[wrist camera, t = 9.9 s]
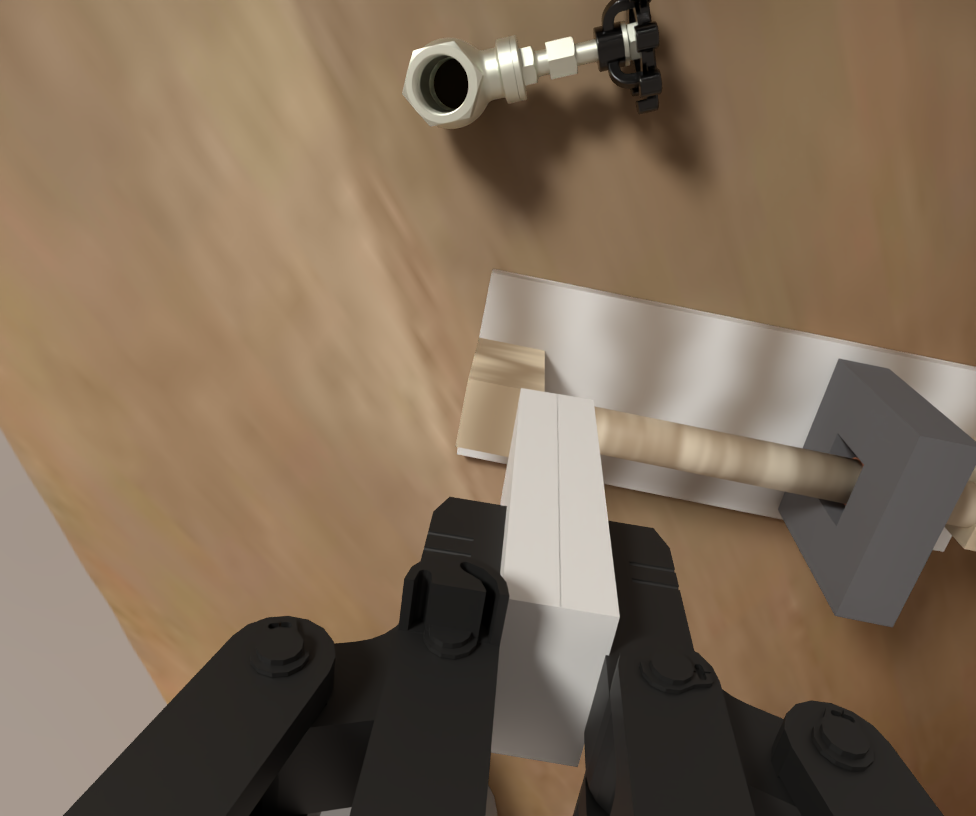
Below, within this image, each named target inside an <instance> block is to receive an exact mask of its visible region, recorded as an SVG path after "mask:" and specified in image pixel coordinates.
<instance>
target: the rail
mask: <svg viewBox="0 0 976 816" xmlns="http://www.w3.org/2000/svg"><path fill="white" fill-rule="evenodd" d="M838 359H844V360H849V361H854V362H859V363H864V364H869V365H874V366H879V367H884V368H889V369H890V370H891V371H893V372H894V373H895V374H896V375H897V376H899V377H900V378H901V379H902V380H903V381H905V382H906V383H907V384H908V385H909V386H910V387H912V388H913V389H914V390H915V391H916V392H918V393H919V394H920V395H921V396H922V397H924V398H925V399H926V400H927V401H928V402H930V403H931V404H932V405H933V406H934V407H936V408H937V409H938V410H939V411H940V412H941V413H943V414H944V415H945V416H946V417H947V418H949V419H950V420H951V421H952V422H953V423H955V424H956V425H957V426H958V427H959V428H961V429H962V430H963V431H964V432H965V433H966V434H968V435H969V436H970V437H971V438H972V439H974V440H975V441H976V367H974V366H969V365H964V364H959V363H954V362H949V361H944V360H939V359H934V358H929V357H925V356H920V355H915V354H910V353H905V352H900V351H895V350H890V349H885V348H880V347H875V346H870V345H866V344H861V343H856V342H851V341H846V340H841V339H836V338H831V337H826V336H821V335H816V334H811V333H807V332H802V331H797V330H792V329H787V328H782V327H777V326H772V325H767V324H762V323H757V322H752V321H748V320H743V319H738V318H733V317H728V316H723V315H718V314H713V313H708V312H703V311H698V310H693V309H689V308H684V307H679V306H674V305H669V304H664V303H659V302H654V301H649V300H644V299H639V298H634V297H630V296H625V295H620V294H615V293H610V292H605V291H600V290H595V289H590V288H585V287H580V286H575V285H571V284H566V283H561V282H556V281H551V280H546V279H541V278H536V277H531V276H526V275H521V274H516V273H512V272H507V271H502V270H497V269H493V270H492V274H491V279H490V284H489V289H488V295H487V300H486V305H485V310H484V315H483V321H482V326H481V331H480V336H479V340H478V344H477V348H476V352H475V355H474V359H473V363H472V367H471V371H470V375H469V378H468V383H467V389H466V394H465V399H464V404H463V410H462V415H461V420H460V425H459V431H458V436H457V441H456V446H455V447H458V450H457V454H459V455H464V456H469V457H474V458H479V459H484V460H488V461H493V462H498V463H503V464H508V458H509V452H510V447H511V441H512V436H513V430H514V424H515V419H516V413H517V408H518V402H519V396H520V391H521V388H524V389H530V390H536V391H543V392H549V393H555V394H561V395H567V396H573V397H579V398H586V399H592V400H594V408H595V416H596V424H597V433H598V441H599V449H600V457H601V466H602V474H603V482H604V484H608V485H613V486H618V487H623V488H628V489H633V490H638V491H643V492H648V493H653V494H658V495H663V496H668V497H673V498H678V499H683V500H688V501H693V502H698V503H703V504H708V505H712V506H717V507H722V508H727V509H732V510H737V511H742V512H747V513H752V514H757V515H762V516H767V517H772V518H777V519H782V520H783V518H782V516H781V515H780V513H779V511H778V508H779V505H780V503H781V500H782V498H783V495H784V493H785V492H789V493H794V494H799V495H804V496H809V497H814V498H819V499H824V500H829V501H834V502H839V503H843V504H844V505H846V504H847V502H848V500H849V497H850V495H851V493H852V491H853V488H854V486H855V484H856V482H857V479H858V477H859V475H860V473H861V470H862V468H863V466H864V464H863V463H862V462H861V461H860V459H859V458H857V457H854V458H848V457H843V456H838V455H833V454H828V453H823V452H818V451H813V450H808V449H803V446H804V443H805V441H806V438H807V436H808V433H809V431H810V428H811V426H812V423H813V421H814V418H815V416H816V413H817V411H818V408H819V406H820V404H821V401H822V399H823V396H824V394H825V391H826V389H827V386H828V384H829V381H830V379H831V376H832V374H833V371H834V369H835V366H836V364H837V361H838ZM952 536H953V537H954V538H955V539H956V541H957V542H958V543H959V544H960V545H961V546H962V547H963V548H964V549H967V550H972V551H976V467H975V469H974V470H973V472H972V474H971V476H970V478H969V480H968V482H967V484H966V486H965V488H964V490H963V492H962V494H961V496H960V498H959V500H958V501H957V503H956V505H955V507H954V509H953V511H952V513H951V515H950V517H949V519H948V521H947V523H946V525H945V527H944V529H943V531H942V533H941V534H940V536H939V538H938V540H937V542H936V544H935V546H934V548H933V550H936V551H941V552H944V550H945V548H946V546H947V544H948V543H949V541H950V539H951V537H952Z"/></svg>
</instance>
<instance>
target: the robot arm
mask: <svg viewBox="0 0 976 816" xmlns="http://www.w3.org/2000/svg"><path fill="white" fill-rule="evenodd" d="M674 570H675V568H674V564H673V560H672V556H671V551H670V548H669V547H668V545H667V544H666V543H665V542H664V541H663V539H662V538H661V537H660V536H659V534H658V533H657V532H656V531H655V530H654V528H649V527H643V526H637V525H631V524H625V523H618V522H612V521H608V516H607V507H606V499H605V491H604V482H603V474H602V466H601V457H600V449H599V441H598V433H597V424H596V416H595V408H594V400H592V399H586V398H579V397H573V396H567V395H561V394H555V393H549V392H543V391H536V390H530V389H524V388H521V391H520V396H519V402H518V408H517V413H516V419H515V424H514V430H513V436H512V441H511V447H510V452H509V458H508V464H507V469H506V475H505V481H504V486H503V492H502V497H501V505H496V504H490V503H484V502H478V501H472V500H466V499H460V498H454V497H449V498H448V499H447V500H446V501H445V502H444V503H442V504H441V505H440V506H439V507H438V508H437V509H436V510H435V511H434V512H433V515H432V519H431V523H430V527H429V531H428V535H427V539H426V542H425V546H424V550H423V554H422V558H421V561H420V562H419V563H417V564H415V565H414V566H412V567H411V569H410V570H409V572H408V574H407V575H406V577H405V578H404V586H403V594H402V603H401V611H400V620H399V624H398V625H397V626H396V627H395V628H393V629H392V630H390V631H389V632H387V633H385V634H383V635H381V636H378V637H375V638H373V639H369V640H363V641H357V642H347V643H336V644H334V641H333V640H332V639H331V637H330V636H329V635H328V633H327V632H326V631H325V630H324V628H322V627H320V626H318V625H316V624H315V623H313V622H311V621H309V620H307V619H301V618H296V617H291V616H282V617H269V618H265V619H262V620H259V621H257V622H254V623H251V624H248V625H247V626H245V627H244V628H243V629H241V630H240V631H239V632H237V633H236V634H235V635H233V636H232V637H231V638H230V639H229V640H228V641H227V642H226V643H225V644H224V645H223V647H222V648H221V649H220V650H219V651H218V652H217V653H216V654H215V655H214V656H213V657H212V658H211V659H210V660H209V661H208V662H207V663H206V665H205V666H204V667H203V668H202V669H201V670H200V671H199V672H198V673H197V674H196V675H195V676H194V677H193V678H192V679H191V680H190V681H189V683H188V684H187V685H186V686H185V687H184V688H183V689H182V690H181V691H180V692H179V693H178V694H177V695H176V696H175V697H174V698H173V699H172V701H171V702H170V703H169V704H168V705H167V706H166V707H165V708H164V709H163V710H162V711H161V712H160V713H159V714H158V715H157V717H155V719H154V720H153V721H152V722H151V723H150V724H149V725H148V726H147V727H146V728H145V729H144V730H143V731H142V733H140V734H139V735H138V737H137V738H136V739H135V740H134V741H133V742H132V743H131V744H130V745H129V746H128V747H127V748H126V749H125V750H124V752H122V754H121V755H120V756H119V757H118V758H117V759H116V760H115V761H114V762H113V763H112V764H111V765H110V766H109V767H108V768H107V770H106V771H105V772H104V773H103V774H102V775H101V776H100V777H99V778H98V779H97V780H96V781H95V783H93V784H92V785H91V786H90V787H89V788H88V790H87V791H86V792H85V793H84V794H83V795H82V796H81V797H80V798H79V799H78V800H77V801H76V802H75V803H74V804H73V806H72V807H71V808H70V809H69V810H68V811H67V812H66V813H65V814H64V815H63V816H320V814H321V812H323V811H330V810H336V809H343V808H350V807H352V808H351V812H350V815H349V816H485V815H486V803H487V791H488V779H489V768H490V756H491V753H497V754H503V755H509V756H515V757H521V758H527V759H533V760H539V761H545V762H551V763H557V764H563V765H569V766H575V767H578V764H579V760H580V757H581V753H582V750H583V746H584V742H585V763H586V772H585V776H584V779H583V783H582V786H581V790H580V793H579V797H578V800H577V803H576V807H575V810H574V814H573V816H944V815H943V814H942V813H941V811H940V810H939V809H938V807H937V806H936V805H935V803H934V802H933V801H932V799H931V798H930V797H929V795H928V794H927V793H926V791H925V790H924V789H923V787H922V786H921V785H920V783H919V782H918V781H917V779H916V778H915V776H914V775H913V774H912V772H911V771H910V770H909V768H908V767H907V766H906V764H905V763H904V762H903V760H902V759H901V758H900V756H899V755H898V754H897V752H896V751H895V750H894V748H893V747H892V746H891V744H890V743H889V742H888V741H887V740H886V739H885V738H884V737H883V736H882V734H881V733H880V732H879V731H878V730H877V729H876V728H875V727H874V726H873V725H871V724H870V723H868V722H867V721H865V720H864V719H862V718H861V717H859V716H858V715H856V714H855V713H854V712H852V711H849V710H847V709H844V708H842V707H839V706H837V705H834V704H832V703H825V702H818V701H808V702H803V703H799V704H796V705H795V706H794V707H793V708H792V709H791V710H790V711H789V712H788V713H787V714H786V716H785V718H784V719H782V718H779V717H777V716H775V715H772V714H770V713H767V712H765V711H763V710H760V709H758V708H755V707H753V706H751V705H748V704H746V703H744V702H742V701H740V700H738V699H736V698H734V697H732V696H731V695H730V694H728V693H727V692H725V691H724V690H722V688H721V684H720V681H719V679H718V677H717V675H716V673H715V671H714V669H713V667H712V666H711V665H710V664H709V663H708V662H707V661H706V660H705V659H704V658H703V657H702V656H701V655H700V654H699V653H697V652H695V651H694V648H693V644H692V639H691V635H690V631H689V627H688V623H687V618H686V614H685V610H684V606H683V602H682V598H681V593H680V590H678V587H679V585H678V581H677V577H676V573H674Z"/></svg>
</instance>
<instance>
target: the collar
mask: <svg viewBox="0 0 976 816" xmlns="http://www.w3.org/2000/svg"><path fill="white" fill-rule="evenodd" d="M803 449H808V450H813V451H818V452H823V453H828V454H833V455H838V456H843V457H848V458H854V457H857V458H859V459H860V461H861V462H862V463H863V464H864V466H863V468H862V470H861V473H860V475H859V477H858V479H857V482H856V484H855V486H854V488H853V491H852V493H851V495H850V497H849V500H848V502H847V504H846V505H844V504H843V503H839V502H834V501H829V500H824V499H819V498H814V497H809V496H804V495H799V494H794V493H789V492H785V493H784V495H783V498H782V500H781V503H780V505H779V508H778V511H779V513H780V515H781V516H782V518H783V520H784V522H785V524H786V526H787V528H788V529H789V531H790V533H791V535H792V537H793V539H794V541H795V542H796V544H797V546H798V548H799V550H800V552H801V553H802V555H803V557H804V559H805V561H806V563H807V565H808V566H809V568H810V570H811V572H812V574H813V576H814V578H815V579H816V581H817V583H818V585H819V587H820V589H821V591H822V592H823V594H824V596H825V598H826V600H827V602H828V604H829V605H830V607H831V609H832V611H833V613H834V615H835V616H838V617H843V618H848V619H853V620H858V621H863V622H868V623H873V624H878V625H883V626H888V627H893V626H894V624H895V622H896V620H897V618H898V616H899V614H900V612H901V610H902V608H903V606H904V604H905V602H906V600H907V598H908V597H909V595H910V593H911V591H912V589H913V587H914V585H915V583H916V581H917V579H918V577H919V575H920V573H921V571H922V569H923V567H924V566H925V564H926V562H927V560H928V558H929V556H930V554H931V552H932V550H933V548H934V546H935V544H936V542H937V540H938V538H939V536H940V534H941V533H942V531H943V529H944V527H945V525H946V523H947V521H948V519H949V517H950V515H951V513H952V511H953V509H954V507H955V505H956V503H957V501H958V500H959V498H960V496H961V494H962V492H963V490H964V488H965V486H966V484H967V482H968V480H969V478H970V476H971V474H972V472H973V470H974V469H975V467H976V441H975V440H974V439H972V438H971V437H970V436H969V435H968V434H966V433H965V432H964V431H963V430H962V429H961V428H959V427H958V426H957V425H956V424H955V423H953V422H952V421H951V420H950V419H949V418H947V417H946V416H945V415H944V414H943V413H941V412H940V411H939V410H938V409H937V408H936V407H934V406H933V405H932V404H931V403H930V402H928V401H927V400H926V399H925V398H924V397H922V396H921V395H920V394H919V393H918V392H916V391H915V390H914V389H913V388H912V387H910V386H909V385H908V384H907V383H906V382H905V381H903V380H902V379H901V378H900V377H899V376H897V375H896V374H895V373H894V372H893V371H891V370H890V369H889V368H884V367H879V366H874V365H869V364H864V363H859V362H854V361H849V360H844V359H838V361H837V364H836V366H835V369H834V371H833V374H832V376H831V379H830V381H829V384H828V386H827V389H826V391H825V394H824V396H823V399H822V401H821V404H820V406H819V408H818V411H817V413H816V416H815V418H814V421H813V423H812V426H811V428H810V431H809V433H808V436H807V438H806V441H805V443H804V446H803Z"/></svg>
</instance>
